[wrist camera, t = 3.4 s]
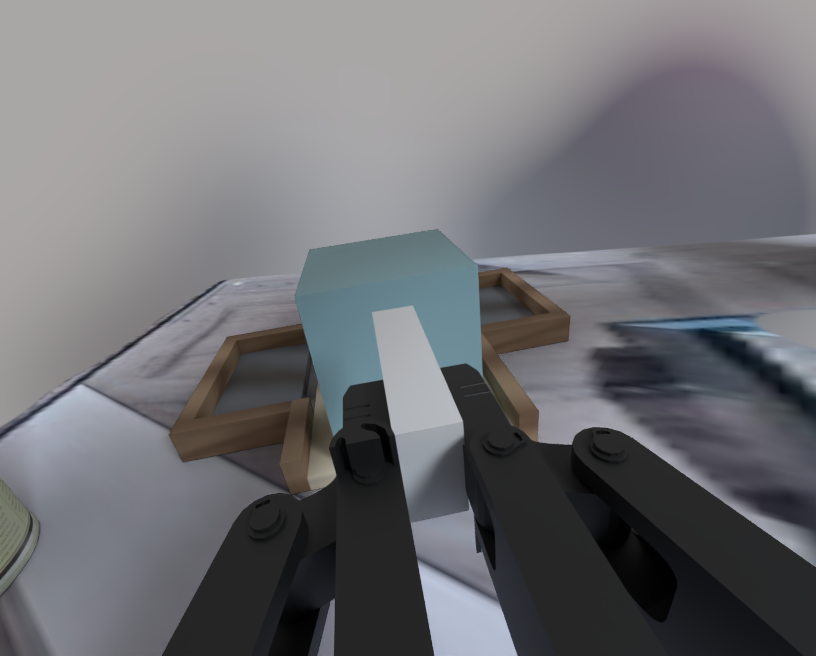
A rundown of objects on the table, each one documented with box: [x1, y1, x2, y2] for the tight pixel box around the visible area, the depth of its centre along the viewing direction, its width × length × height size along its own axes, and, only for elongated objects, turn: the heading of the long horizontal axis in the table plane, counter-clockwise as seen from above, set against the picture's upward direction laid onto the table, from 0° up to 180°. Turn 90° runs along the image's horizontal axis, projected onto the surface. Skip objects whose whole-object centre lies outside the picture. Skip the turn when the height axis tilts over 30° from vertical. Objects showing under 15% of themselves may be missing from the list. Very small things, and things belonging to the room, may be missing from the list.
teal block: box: [294, 229, 483, 437], centre depth 25 cm, size 9×9×11 cm
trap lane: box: [169, 268, 570, 494], centre depth 36 cm, size 29×31×4 cm
